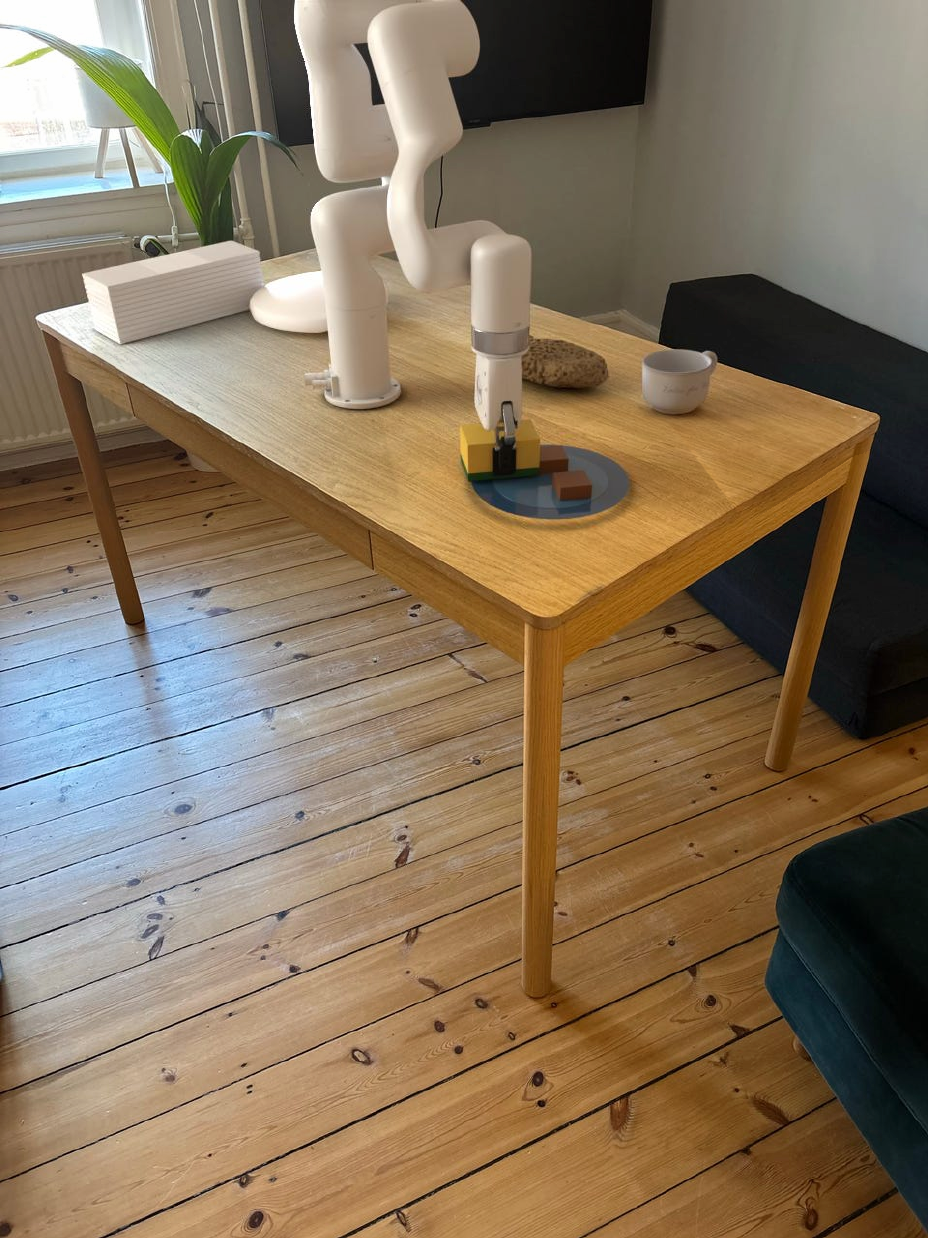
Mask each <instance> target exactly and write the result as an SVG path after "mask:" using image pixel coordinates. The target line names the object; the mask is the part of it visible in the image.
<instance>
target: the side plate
mask: <svg viewBox="0 0 928 1238" xmlns="http://www.w3.org/2000/svg"><path fill="white" fill-rule="evenodd" d="M556 445H557V444H540V447H543V446H556ZM561 445H562V447H563V449H564V451H565V453H566V455H567V456H568V458H569V463H568V471H577V470H584V471H585V473H586V475H587V477H588V478H589V480H590V482H591V484H592V496H591V498H584V499H574V500H563V501H560V500H559V498H558V496H557V494H556V492H555V490H554V488H553V486H552V473H544V474H539V475H535V476H524V477H512V478H501V479H489V480H478V481H470V482H471V487H472V489H473V491H474V493H475V494H476V495H477V496H478V498H480V499H481V500H482V501H483V502H485V503H487V504H488V505H489V506H491V507H493V508H495V509H497V510H499V511H502V512H505V513H508V514H511V515H514V516H518V517H523V518H529V519H536V520H555V521H557V520H559V521H560V520H572V519H578V518H584V517H589V516H593V515H596V514H599V513H602V512H605V511H607V510H609V509H611V508H613V507H615V506H616V505H617V504H619V503H621V502H622V500H623V499H625V497H626V496H627V494H628V493H629V490H630V483H631V482H630V478H629V475H628V473H627V472H626V471H625V469H624V468H623V466H621V465H620V464H618V462H616V461H615V460H613V459H612V458H609V457H608V456H605V454H604V455H603V454H601V453H599V452H596V451H592V450H589V449H586V448H581V447H576V446H570V445H563V444H561Z"/></svg>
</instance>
